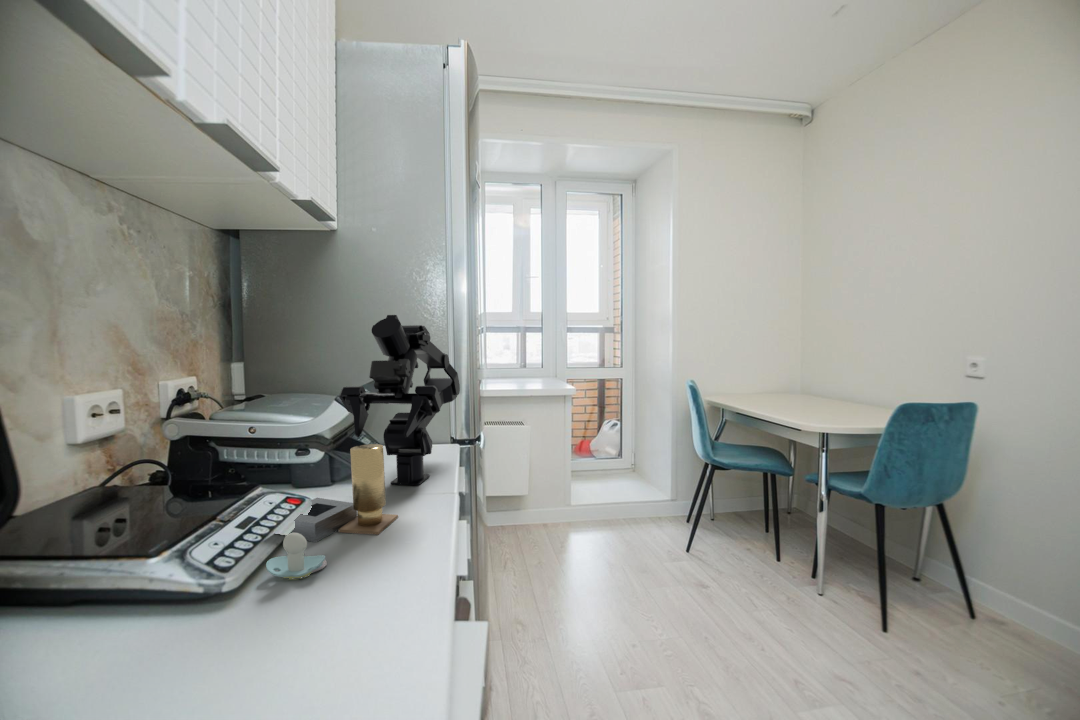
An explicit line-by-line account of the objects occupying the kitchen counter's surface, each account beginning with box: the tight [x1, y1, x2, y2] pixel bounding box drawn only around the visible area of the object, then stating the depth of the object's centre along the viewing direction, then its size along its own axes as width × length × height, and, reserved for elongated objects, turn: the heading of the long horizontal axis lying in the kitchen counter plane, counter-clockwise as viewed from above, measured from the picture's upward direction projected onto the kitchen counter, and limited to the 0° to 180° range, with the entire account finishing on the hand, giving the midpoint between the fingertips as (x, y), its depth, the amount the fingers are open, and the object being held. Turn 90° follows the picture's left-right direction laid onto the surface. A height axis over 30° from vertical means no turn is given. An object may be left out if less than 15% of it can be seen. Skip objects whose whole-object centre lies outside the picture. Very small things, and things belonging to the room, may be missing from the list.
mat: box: [338, 513, 399, 536], centre depth 79 cm, size 7×7×1 cm
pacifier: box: [265, 533, 328, 580], centre depth 64 cm, size 7×6×6 cm
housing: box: [292, 497, 358, 543], centre depth 79 cm, size 9×9×3 cm
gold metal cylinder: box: [349, 443, 387, 526], centre depth 79 cm, size 5×5×13 cm
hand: (381, 435), depth 86 cm, fingers open, 9 cm apart
